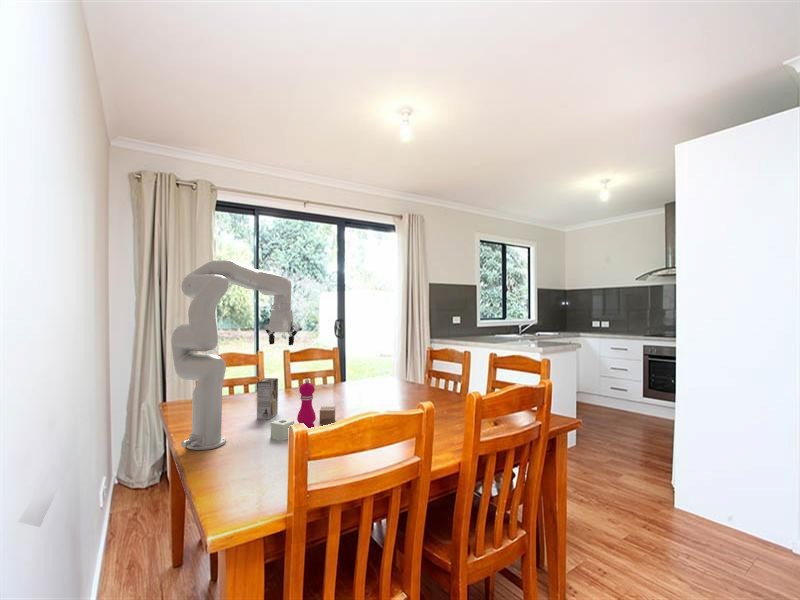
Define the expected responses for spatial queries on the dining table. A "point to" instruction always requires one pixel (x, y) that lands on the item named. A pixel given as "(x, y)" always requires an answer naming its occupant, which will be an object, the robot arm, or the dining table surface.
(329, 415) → the walnut cube
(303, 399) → the pepper mill
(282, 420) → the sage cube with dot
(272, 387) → the coffee box
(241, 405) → the dining table surface
